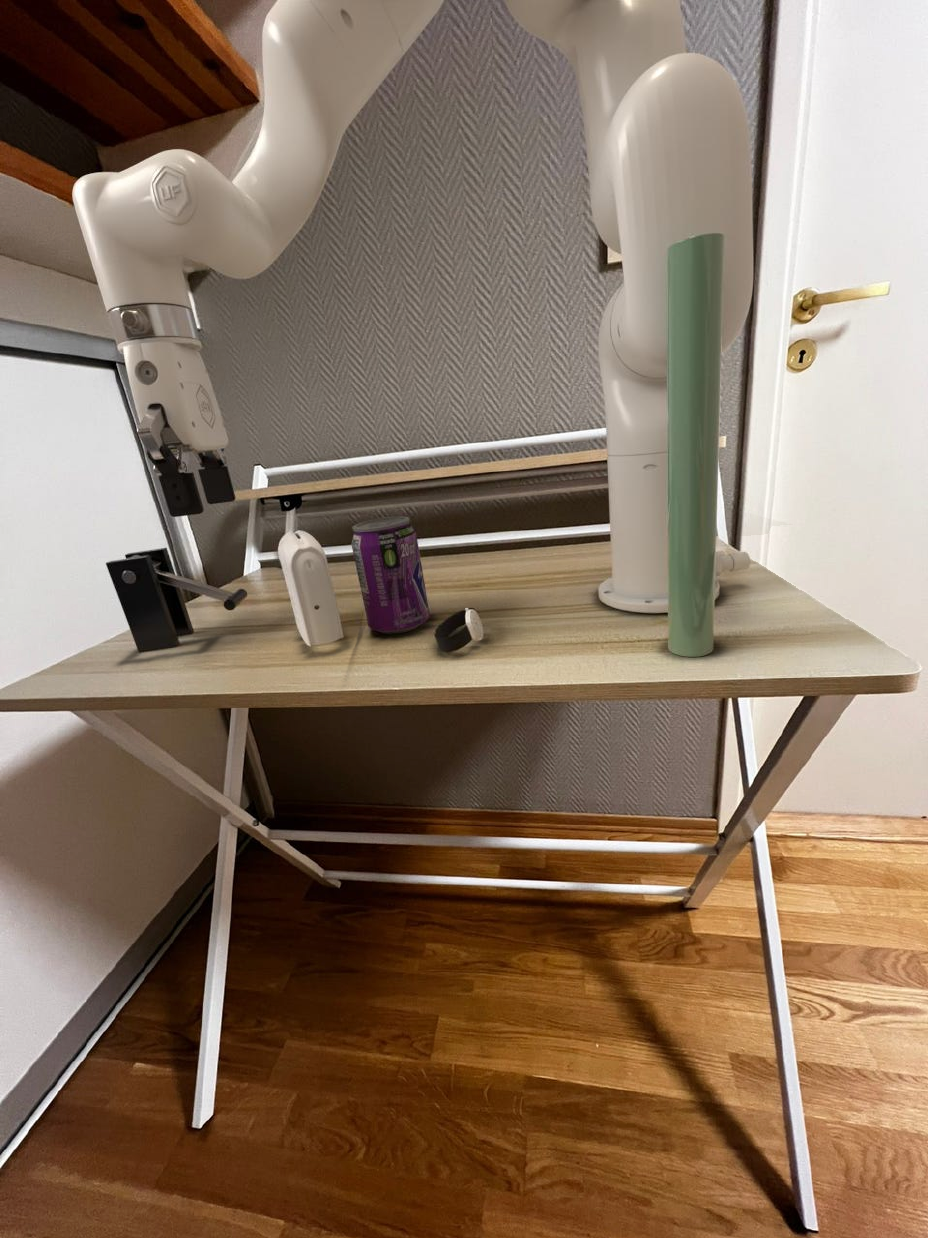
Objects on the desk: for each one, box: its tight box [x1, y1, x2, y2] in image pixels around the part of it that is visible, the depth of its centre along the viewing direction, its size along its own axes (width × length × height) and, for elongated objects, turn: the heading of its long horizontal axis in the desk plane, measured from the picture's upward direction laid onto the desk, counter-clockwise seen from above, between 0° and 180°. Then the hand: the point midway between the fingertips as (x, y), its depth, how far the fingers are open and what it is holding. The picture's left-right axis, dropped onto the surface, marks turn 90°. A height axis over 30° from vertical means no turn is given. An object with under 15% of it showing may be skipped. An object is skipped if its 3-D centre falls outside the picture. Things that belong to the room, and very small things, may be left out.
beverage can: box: [351, 515, 431, 635], centre depth 59 cm, size 7×7×12 cm
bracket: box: [105, 547, 195, 654], centre depth 62 cm, size 9×6×12 cm, turn 94°
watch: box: [434, 607, 484, 654], centre depth 54 cm, size 8×5×4 cm, turn 167°
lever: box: [127, 555, 248, 611], centre depth 62 cm, size 13×4×2 cm, turn 93°
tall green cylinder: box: [667, 233, 725, 658], centre depth 41 cm, size 4×4×30 cm
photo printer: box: [277, 529, 345, 647], centre depth 59 cm, size 10×4×12 cm, turn 25°
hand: (206, 508), depth 59 cm, fingers open, 9 cm apart
